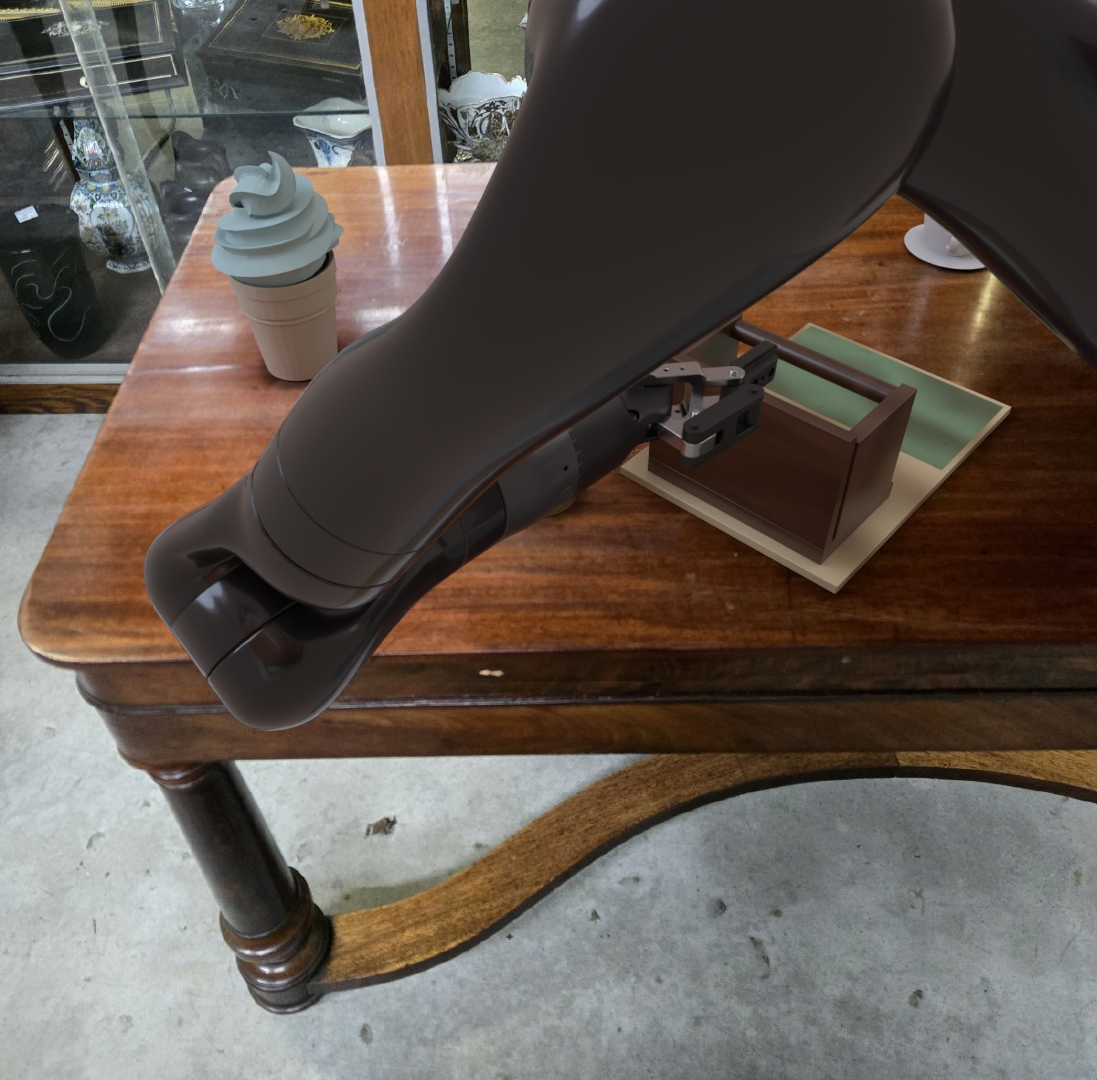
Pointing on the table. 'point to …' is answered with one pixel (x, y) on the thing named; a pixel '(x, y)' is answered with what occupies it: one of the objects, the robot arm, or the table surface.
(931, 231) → the teacup
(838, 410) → the board
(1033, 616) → the table surface
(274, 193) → the ice cream cone
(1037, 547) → the table surface
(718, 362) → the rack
